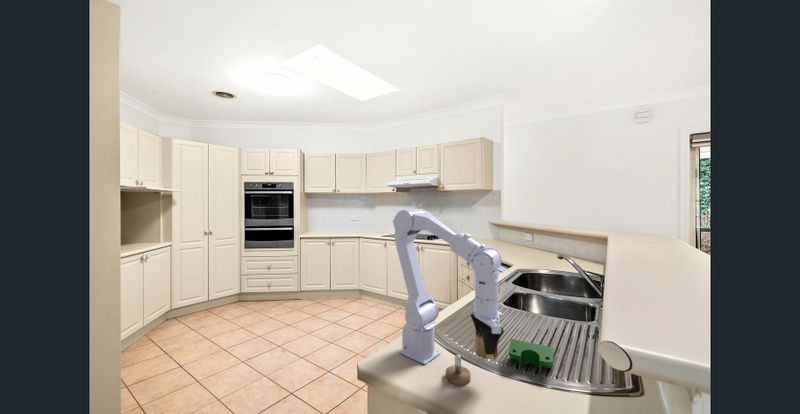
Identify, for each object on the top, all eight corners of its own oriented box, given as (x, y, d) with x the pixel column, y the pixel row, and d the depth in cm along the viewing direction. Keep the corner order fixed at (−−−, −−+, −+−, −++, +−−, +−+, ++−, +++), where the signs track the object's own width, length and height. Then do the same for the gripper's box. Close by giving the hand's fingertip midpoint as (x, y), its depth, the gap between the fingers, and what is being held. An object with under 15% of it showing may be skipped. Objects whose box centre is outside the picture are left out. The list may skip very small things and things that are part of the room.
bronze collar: (472, 353, 79) (472, 335, 79) (481, 345, 83) (481, 328, 82) (491, 361, 75) (491, 341, 75) (499, 352, 79) (500, 334, 79)
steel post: (453, 372, 80) (453, 355, 80) (456, 370, 82) (456, 352, 81) (459, 375, 79) (459, 357, 79) (462, 372, 80) (462, 354, 80)
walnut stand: (441, 378, 80) (441, 373, 80) (453, 367, 85) (453, 362, 85) (462, 389, 76) (462, 383, 76) (474, 377, 81) (474, 371, 81)
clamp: (516, 381, 86) (502, 354, 85) (518, 365, 91) (505, 339, 90) (560, 378, 79) (545, 349, 79) (560, 361, 84) (546, 333, 84)
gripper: (513, 306, 71) (513, 363, 72) (491, 286, 86) (491, 333, 86) (484, 308, 71) (484, 364, 72) (466, 287, 85) (466, 334, 86)
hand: (486, 347), depth 79 cm, fingers closed on bronze collar, 5 cm apart
